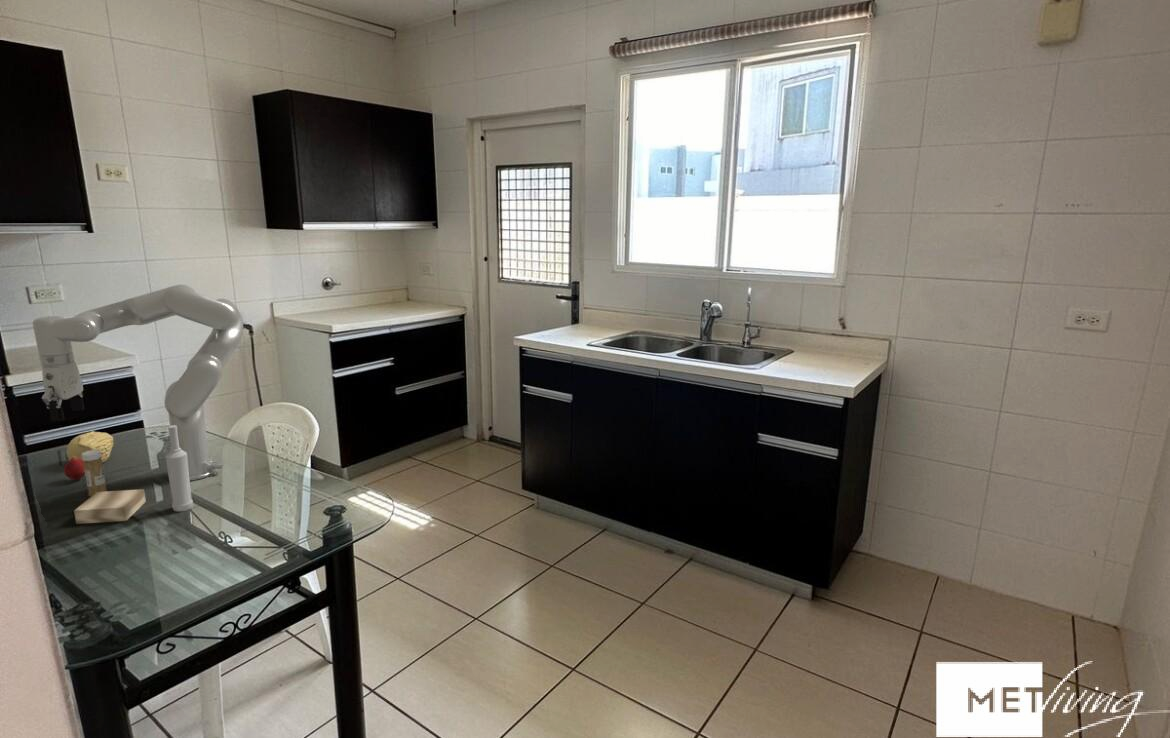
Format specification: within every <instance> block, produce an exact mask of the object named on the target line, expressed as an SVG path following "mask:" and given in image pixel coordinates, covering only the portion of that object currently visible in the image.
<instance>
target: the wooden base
mask: <svg viewBox="0 0 1170 738" xmlns="http://www.w3.org/2000/svg"><path fill="white" fill-rule="evenodd" d="M146 502H147V501H146V493H145V489H143V488H142V489H125V490H110V491H109V490H107V491H105V492H97V493H95V494H94V495H93V496H89V498H88V499H87V500H85V501H84V502H83V503H82V504H80V505H79V506H78V507H77V508H76V509H74V511H73V513H74V517H75V524H76V525H81V524H96V523H97V524H98V523H115V522H125V521H128V520H129V519H130V518H131V517H132V516H133V515H134V514H135V513H136V512H137V511H138V510H139V509H140V508H141V507H142V506H143V505H144V504H145V503H146Z"/></svg>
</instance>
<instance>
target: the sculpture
mask: <svg viewBox="0 0 1170 738" xmlns="http://www.w3.org/2000/svg"><path fill="white" fill-rule="evenodd" d="M112 448H114V436H112V435H110V434H109V433H107V432H100V431H93V430H92V431H90V432H86V433H82V434H79V435H77V436H75V437H74V438H72V439H71V440H70V442H69V443H68V444H67V447H66V456H67V459H68V461H70V460H71V459H72V458H73V457H74V456H77V459H80V460H82V453H84V452H87V451H91V450H99V451H101V456H102V457H101V461H102V464H103V463H105V462H106V461H107V460H108V459H109V458H110V455H111V452H112V450H113V449H112Z"/></svg>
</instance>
